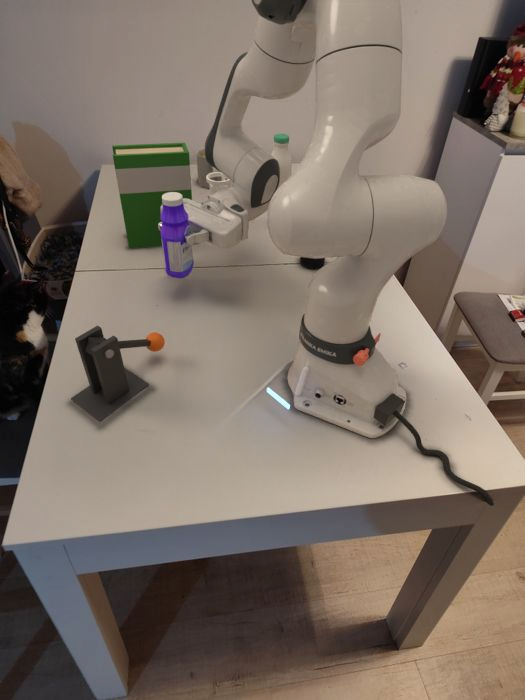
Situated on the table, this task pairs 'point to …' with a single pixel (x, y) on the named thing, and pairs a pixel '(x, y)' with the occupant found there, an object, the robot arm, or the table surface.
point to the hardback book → (149, 186)
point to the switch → (132, 343)
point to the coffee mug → (205, 169)
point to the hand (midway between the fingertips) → (173, 234)
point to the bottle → (175, 236)
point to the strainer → (218, 182)
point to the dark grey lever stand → (105, 377)
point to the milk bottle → (282, 156)
